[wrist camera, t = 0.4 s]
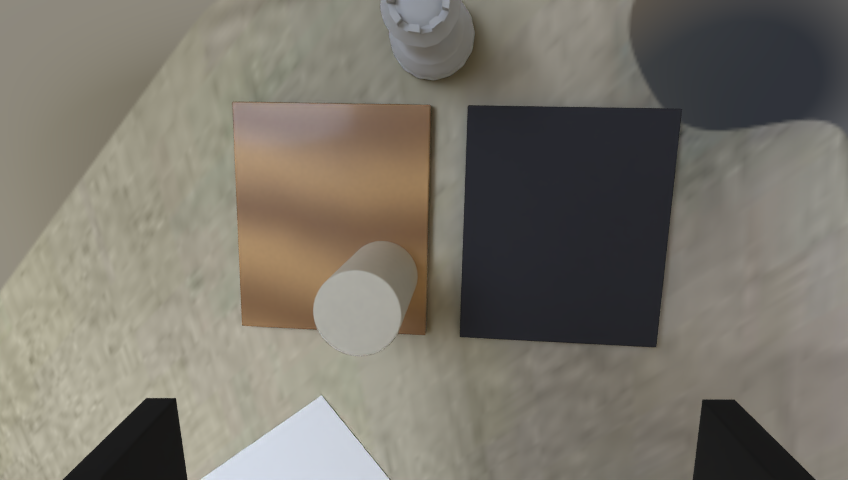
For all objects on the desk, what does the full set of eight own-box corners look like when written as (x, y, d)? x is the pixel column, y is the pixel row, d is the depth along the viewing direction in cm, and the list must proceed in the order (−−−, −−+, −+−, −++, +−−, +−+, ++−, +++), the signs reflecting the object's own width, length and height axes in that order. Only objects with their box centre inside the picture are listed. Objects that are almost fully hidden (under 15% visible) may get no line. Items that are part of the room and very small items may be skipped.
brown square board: (236, 102, 30) (231, 101, 29) (431, 105, 29) (430, 104, 28) (245, 322, 32) (241, 325, 32) (426, 332, 31) (425, 335, 31)
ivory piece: (348, 239, 30) (311, 268, 23) (418, 242, 30) (402, 272, 23) (348, 307, 31) (313, 354, 24) (417, 310, 30) (401, 359, 24)
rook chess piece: (407, -19, 28) (382, -83, 20) (487, 9, 28) (493, -43, 20) (380, 65, 29) (345, 36, 21) (457, 93, 29) (452, 74, 21)
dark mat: (468, 106, 29) (467, 105, 28) (677, 109, 28) (682, 108, 27) (459, 333, 31) (459, 337, 31) (652, 343, 30) (656, 347, 30)
